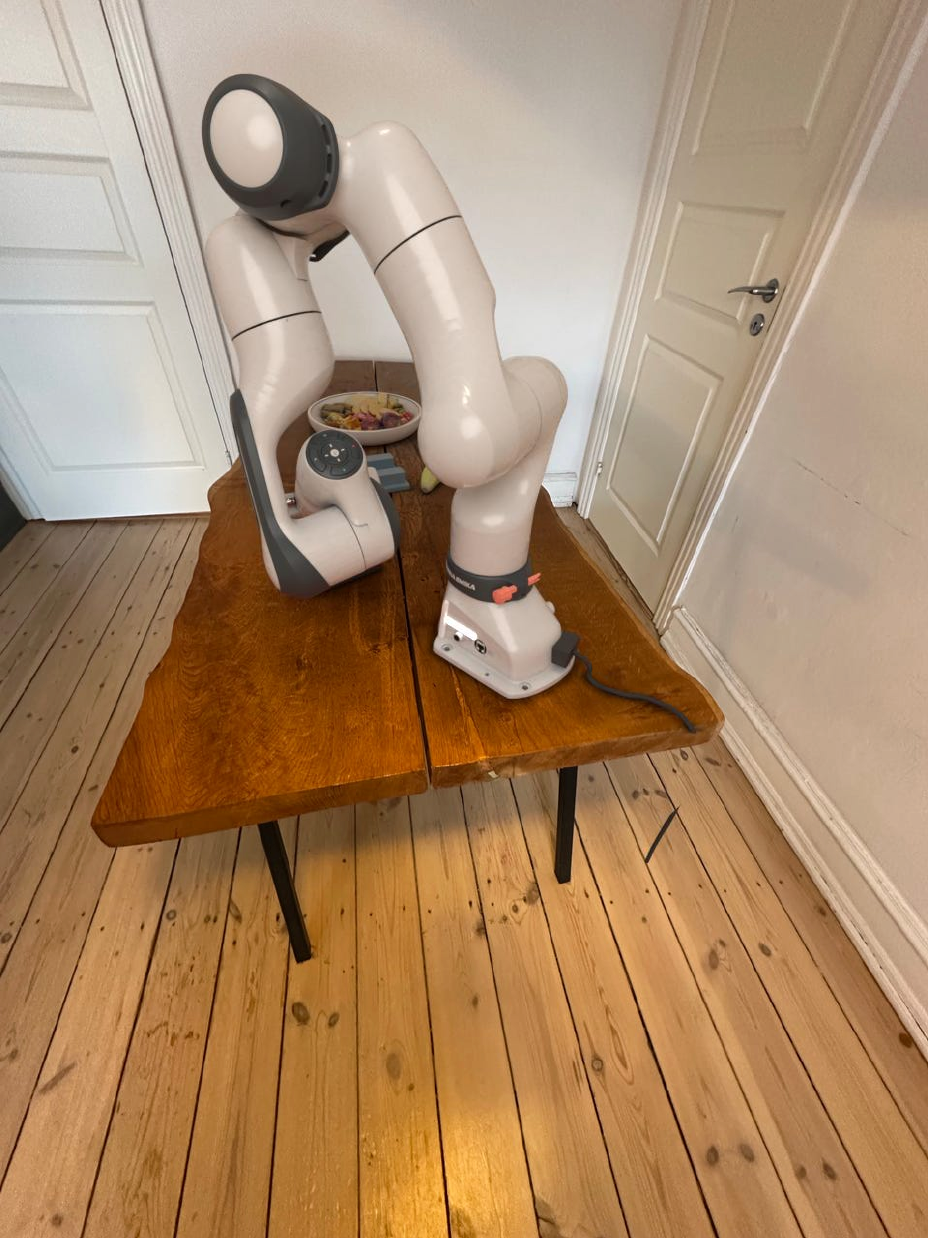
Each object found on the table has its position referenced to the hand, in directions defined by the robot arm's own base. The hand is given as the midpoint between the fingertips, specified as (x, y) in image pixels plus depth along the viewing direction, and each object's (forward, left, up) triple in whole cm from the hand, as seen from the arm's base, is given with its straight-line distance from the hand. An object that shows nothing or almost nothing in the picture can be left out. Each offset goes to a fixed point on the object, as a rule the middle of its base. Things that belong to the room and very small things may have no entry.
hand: (319, 520), depth 95 cm
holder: (+22, -26, -8) cm, 35 cm away
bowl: (+50, -39, -8) cm, 64 cm away
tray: (-1, 0, -8) cm, 8 cm away
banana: (+10, -41, -8) cm, 43 cm away
